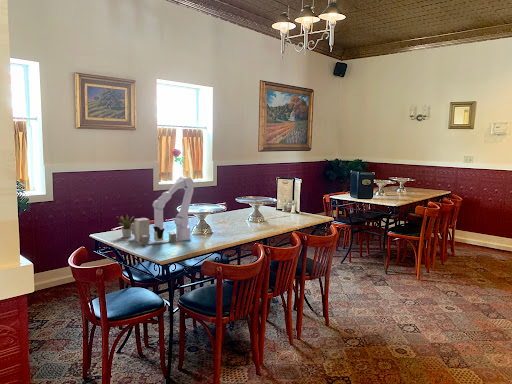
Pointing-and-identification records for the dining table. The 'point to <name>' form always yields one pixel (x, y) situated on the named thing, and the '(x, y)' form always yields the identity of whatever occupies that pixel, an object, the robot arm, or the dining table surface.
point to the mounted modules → (145, 238)
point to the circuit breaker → (140, 228)
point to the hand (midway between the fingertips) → (158, 237)
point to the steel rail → (157, 242)
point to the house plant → (126, 227)
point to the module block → (157, 237)
